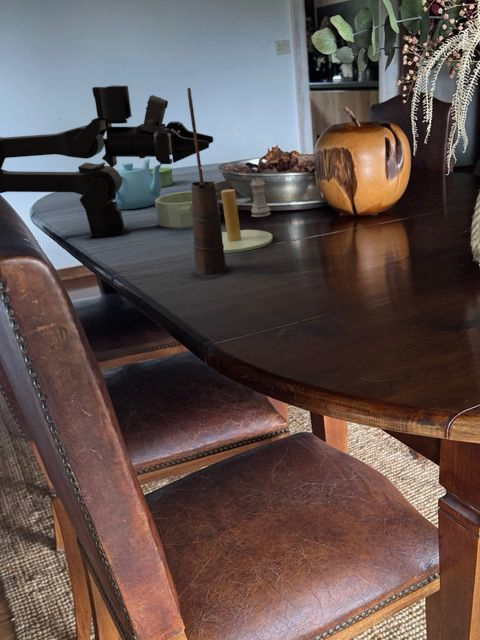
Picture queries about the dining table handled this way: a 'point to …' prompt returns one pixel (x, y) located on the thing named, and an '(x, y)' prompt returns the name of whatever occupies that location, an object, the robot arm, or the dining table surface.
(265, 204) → the rook chess piece
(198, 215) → the butter churn
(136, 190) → the teapot
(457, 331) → the dining table surface
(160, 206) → the pan
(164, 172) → the ramekin
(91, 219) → the robot arm
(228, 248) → the lid
